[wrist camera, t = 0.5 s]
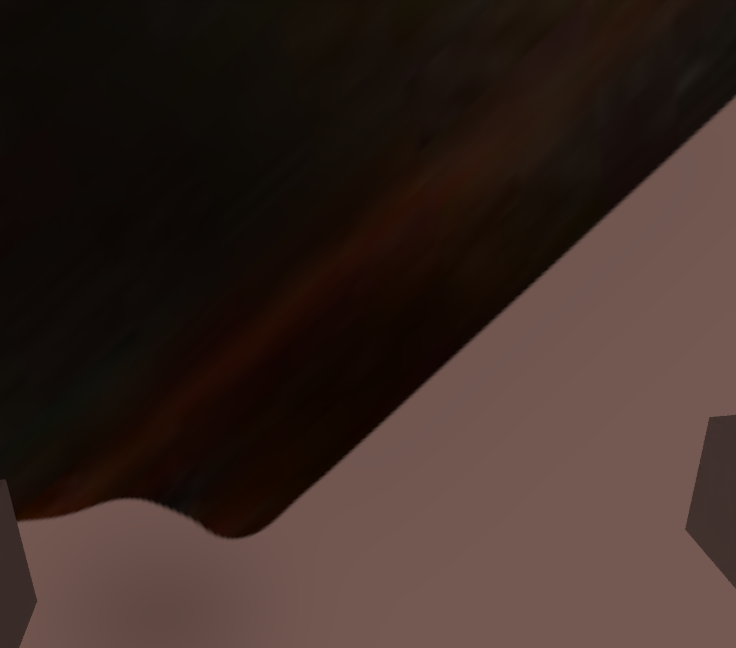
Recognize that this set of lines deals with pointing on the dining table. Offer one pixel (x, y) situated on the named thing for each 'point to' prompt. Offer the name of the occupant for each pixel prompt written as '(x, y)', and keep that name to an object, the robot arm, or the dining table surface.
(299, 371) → the dining table surface
